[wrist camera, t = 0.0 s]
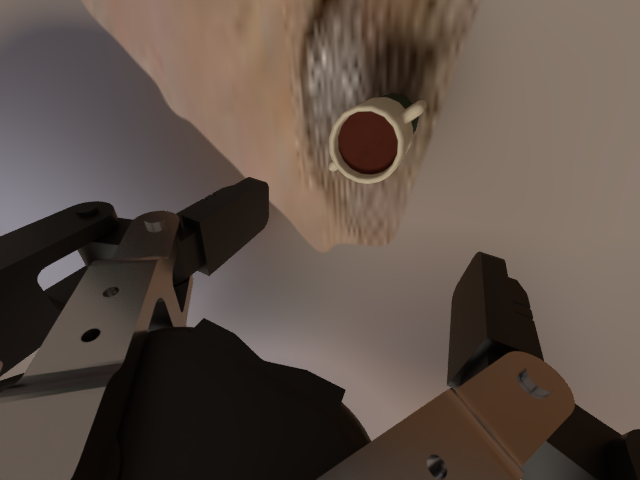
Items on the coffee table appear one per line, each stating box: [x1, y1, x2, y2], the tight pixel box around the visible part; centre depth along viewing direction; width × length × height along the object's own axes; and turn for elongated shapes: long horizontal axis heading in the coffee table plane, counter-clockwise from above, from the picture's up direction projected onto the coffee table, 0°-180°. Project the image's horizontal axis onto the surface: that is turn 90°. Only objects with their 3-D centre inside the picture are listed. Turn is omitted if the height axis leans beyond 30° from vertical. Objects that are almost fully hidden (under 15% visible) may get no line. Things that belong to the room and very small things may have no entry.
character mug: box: [329, 94, 426, 184], centre depth 30 cm, size 11×7×13 cm, turn 129°
